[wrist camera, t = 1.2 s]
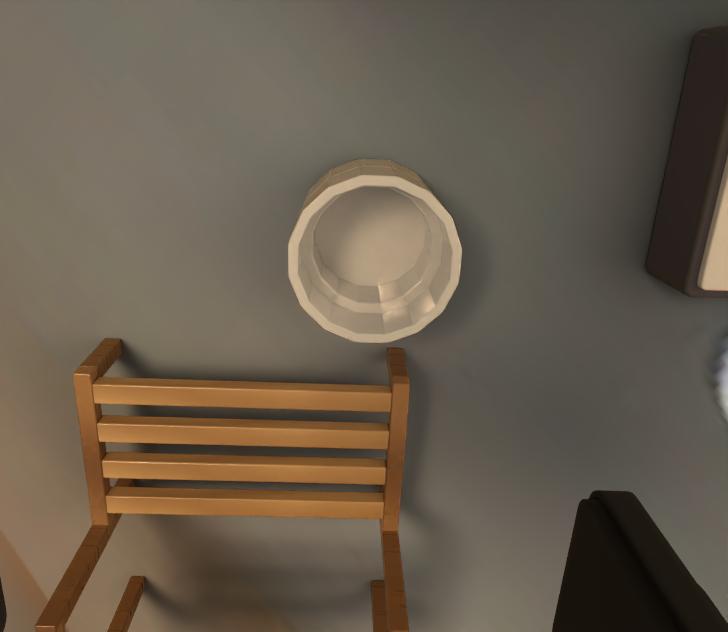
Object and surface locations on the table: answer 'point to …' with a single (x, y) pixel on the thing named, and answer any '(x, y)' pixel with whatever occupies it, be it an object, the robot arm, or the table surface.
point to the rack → (235, 466)
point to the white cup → (373, 252)
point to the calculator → (697, 179)
